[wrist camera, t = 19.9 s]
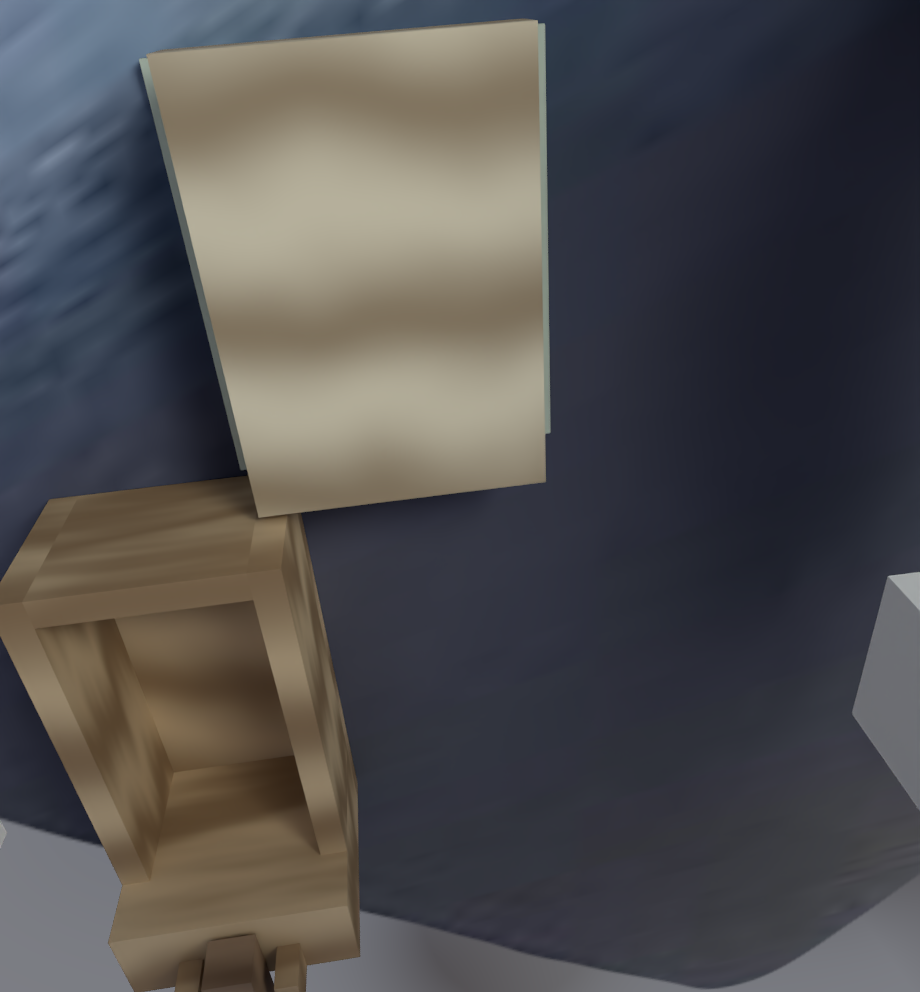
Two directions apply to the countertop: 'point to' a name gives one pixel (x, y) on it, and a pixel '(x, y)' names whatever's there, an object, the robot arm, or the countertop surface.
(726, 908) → the countertop surface
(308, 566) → the toolbox
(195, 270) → the mat
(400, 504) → the countertop surface
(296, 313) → the lid
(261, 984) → the bar
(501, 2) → the countertop surface
